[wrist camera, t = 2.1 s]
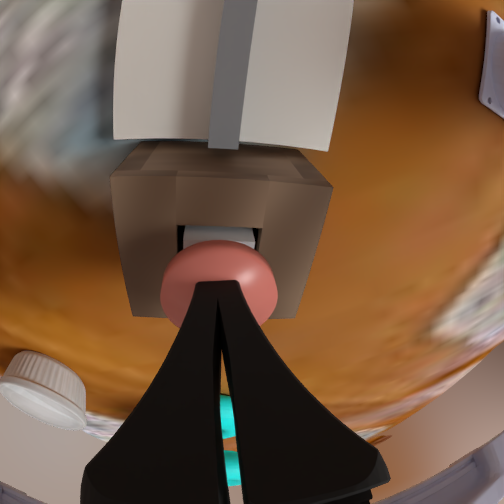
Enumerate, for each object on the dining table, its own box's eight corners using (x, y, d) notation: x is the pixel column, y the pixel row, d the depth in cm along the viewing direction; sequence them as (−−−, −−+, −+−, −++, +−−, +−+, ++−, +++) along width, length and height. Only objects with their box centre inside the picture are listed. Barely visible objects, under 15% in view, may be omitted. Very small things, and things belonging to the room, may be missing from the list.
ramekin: (81, 356, 23) (70, 402, 18) (100, 402, 29) (96, 438, 25) (-3, 332, 20) (-19, 371, 16) (29, 383, 26) (20, 415, 22)
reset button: (264, 192, 13) (288, 256, 9) (252, 263, 15) (267, 337, 11) (173, 188, 12) (154, 252, 8) (175, 261, 14) (165, 336, 10)
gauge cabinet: (298, 149, 14) (333, 187, 10) (276, 258, 18) (294, 318, 14) (137, 141, 13) (104, 176, 9) (145, 254, 17) (128, 316, 13)
